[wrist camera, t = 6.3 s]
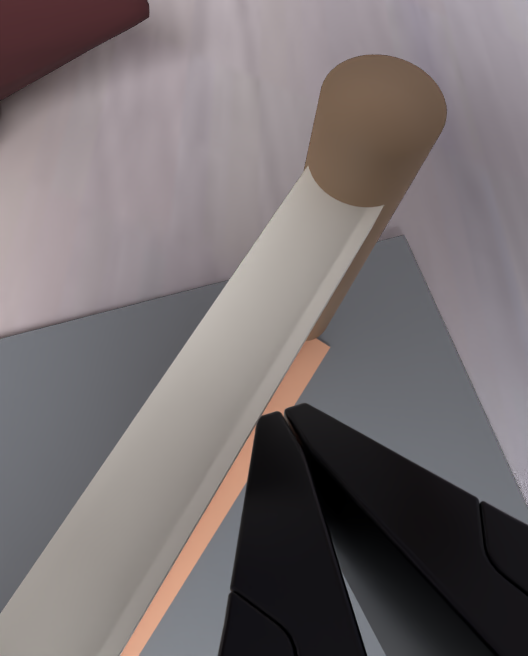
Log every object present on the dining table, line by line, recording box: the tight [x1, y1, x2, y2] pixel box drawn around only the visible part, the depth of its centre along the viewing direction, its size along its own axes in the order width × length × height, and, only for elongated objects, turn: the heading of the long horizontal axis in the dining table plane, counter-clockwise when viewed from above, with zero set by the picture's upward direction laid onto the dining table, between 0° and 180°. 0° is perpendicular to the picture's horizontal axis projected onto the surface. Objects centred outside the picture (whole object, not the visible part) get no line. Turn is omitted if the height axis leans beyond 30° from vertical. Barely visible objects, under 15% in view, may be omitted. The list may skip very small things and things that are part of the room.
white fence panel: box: [0, 55, 447, 656], centre depth 8 cm, size 19×2×9 cm, turn 149°
